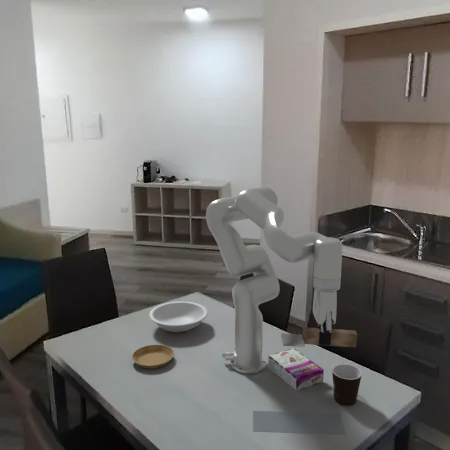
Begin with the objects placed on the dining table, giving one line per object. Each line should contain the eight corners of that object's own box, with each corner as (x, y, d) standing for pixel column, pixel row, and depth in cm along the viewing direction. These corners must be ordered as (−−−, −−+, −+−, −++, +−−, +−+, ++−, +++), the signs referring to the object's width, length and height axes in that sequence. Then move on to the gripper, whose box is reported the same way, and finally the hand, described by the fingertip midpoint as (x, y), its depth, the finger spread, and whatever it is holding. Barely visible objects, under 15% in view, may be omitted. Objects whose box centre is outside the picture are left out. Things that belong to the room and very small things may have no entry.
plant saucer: (132, 374, 152) (132, 367, 152) (131, 353, 167) (131, 346, 166) (176, 369, 156) (176, 362, 155) (171, 348, 170) (171, 342, 169)
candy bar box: (323, 383, 147) (293, 359, 161) (324, 369, 146) (294, 347, 160) (295, 392, 142) (267, 367, 156) (296, 378, 141) (267, 354, 155)
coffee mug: (354, 413, 132) (357, 382, 129) (326, 403, 136) (328, 374, 134) (365, 393, 141) (367, 364, 139) (338, 385, 146) (340, 357, 143)
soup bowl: (159, 313, 200) (158, 299, 199) (212, 316, 197) (212, 302, 195) (142, 338, 177) (141, 323, 176) (202, 342, 174) (201, 327, 172)
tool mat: (253, 432, 123) (253, 431, 123) (253, 412, 132) (253, 410, 132) (345, 436, 122) (345, 434, 122) (339, 415, 131) (339, 413, 131)
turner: (283, 345, 127) (284, 332, 126) (281, 335, 133) (282, 323, 132) (357, 350, 127) (359, 337, 126) (351, 340, 133) (353, 327, 132)
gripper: (308, 272, 134) (306, 329, 138) (318, 292, 118) (315, 356, 122) (333, 272, 134) (330, 329, 138) (347, 292, 118) (343, 356, 122)
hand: (323, 341), depth 130 cm, fingers closed on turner, 2 cm apart
